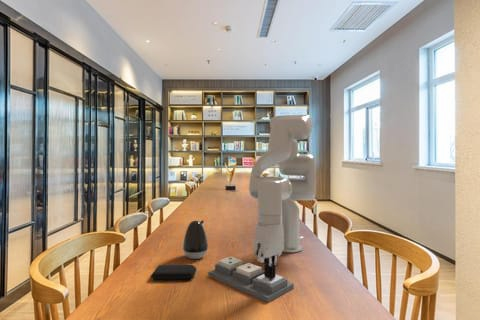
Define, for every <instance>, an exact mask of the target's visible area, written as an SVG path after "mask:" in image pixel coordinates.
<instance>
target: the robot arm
mask: <svg viewBox="0 0 480 320" xmlns="http://www.w3.org/2000/svg"><path fill="white" fill-rule="evenodd" d="M269 127H270V130H269V138H268V145H267V150H266V152H264V153H263V154H262V155H260V157H259V158H258V159H257V160H256V161H255V162H254V164H253V166H252V168H251V172H250V178H249V184H248V185H249V186H248V190H249V194H250V196H251V197H252V198H254V199H257V224H256V226H255V231H254V237H253V239H254V240H253V254H254V256H257V259H256V261H257V262H258V263H262V264H263V266H264V268H263V271H264V276H265V277H268V278H270V279H273V278H275V274H276V265H277V264H278V263H277V262H278V258H279V257H280V256H282V253H299V252H301V251H302V250H303V249H304V247H303V244H301V242H302V241H304V240H305V237H304V236H301V235H300V208H299V206H298V205H297V203H296V201H313V200H315V197H316V196H317V195H316V194H317V164H316V159H315V157H314V155H312V154H308V153H299V142H298V141H297V140H307V139H309V137H310V135H311V133H312V129H313V119H312V117H311V116H310V115H309V114H284V115H275V116H272V117H271V118H270V120H269ZM276 165H278V170H279V173H280V174H281V175H283V176H292V177H281V176H279V177H278V176H262V174H263V173H264V171H266V170H267V169H269V168H271V167H273V166H276ZM293 176H294V177H293ZM295 176H296V177H304V178H295Z"/></svg>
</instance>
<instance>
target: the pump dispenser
mask: <svg viewBox="0 0 480 320" xmlns="http://www.w3.org/2000/svg"><path fill="white" fill-rule="evenodd" d="M204 223H205V221H204V220H201V221H199V220H192V221H191V222H189V224H188V226H187V227H186V230H185V234H184V237H183V242H182V243H183V244H182V250H183V252H184V255H185V256H186V258H189V259H191V260H199V259H200V260H201V259H202V258H204V257H205V255H206V254H207V252H208V249H209V242H208V238H207V234H206V231H205V228H204V225H203V224H204Z"/></svg>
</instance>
